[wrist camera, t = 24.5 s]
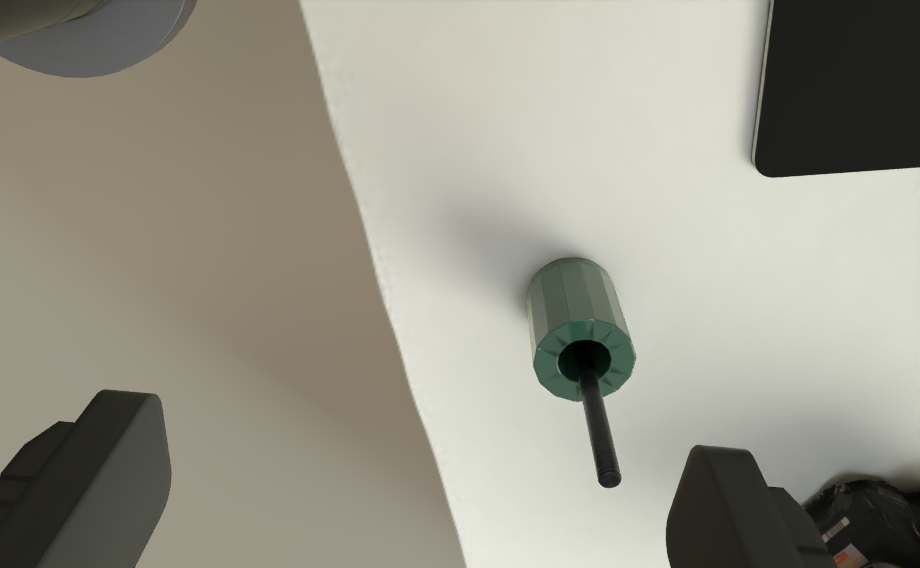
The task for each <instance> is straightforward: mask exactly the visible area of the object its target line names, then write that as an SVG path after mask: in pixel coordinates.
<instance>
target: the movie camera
mask: <svg viewBox="0 0 920 568" xmlns="http://www.w3.org/2000/svg"><path fill="white" fill-rule="evenodd" d="M838 489H839V490H840V491H841V492H842V493H843V494H852V496H853V500H852V501H853V502H852V503H851V505H850V506H849V507H848V508H846V509H842V511H840V512H837V511H835V510H834V508H833V502H834V499H835V493H836V491H837V490H838ZM897 489H898V488H896V487H894V486H891V485H889V484H887V483H886V482H883V481H872V480H858V481H854V482H850V483H844V484H843V485H840V486H838V485H837V486H836V485H833V487H831V488H828V489H826V490H825V491H824V492H823V495H820V497H819V498H818V499H816V500H813V502H812V503H811V504H810V505H809V506H808V507H807V509H805V511H806V512H807V513H808V514H809V515H810V516H811V517H812V519H813V521H814V523H815V525H816V527H817V528H818V530H819V532H820V534H821V536H822V538H823V540H824V542H825V544H826V546H827V548H828V555H832V557H833V559H834V561H835V563H836V565H837V567H838V568H920V491H919V492H915V493H912V494H910V493H909V494H905V493H903V492H901V491H899V490H897Z"/></svg>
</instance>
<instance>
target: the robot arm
mask: <svg viewBox="0 0 920 568" xmlns="http://www.w3.org/2000/svg"><path fill="white" fill-rule="evenodd" d="M110 1H111V0H0V42H2V41H5V40H8V39H12V38H15V37H18V36H21V35H24V34H27V33H30V32H33V31H36V30H39V29H43V28H46V27H49V26H52V25H55V24H58V23H64V22H70V21H74V20H78V19H81V18H84V17H87V16H89V15H92V14H94V13H96V12H97V11H99V10H101V9H102V8H104V7H105V6H106V5H107V4H108V3H109V2H110ZM170 486H171V464H170V457H169V450H168V443H167V436H166V430H165V423H164V416H163V409H162V403H161V400H160V398H159V397H158V395H156V394H151V393H140V392H129V391H118V390H102V391H100V392H99V393H97V394H96V396H95V397H94V398H93V399H92V401H91V402H90V403H89V405H88V406H87V407H86V409H85V410H84V411H83V413H82V414H81V415H80V416H79V418H78V419H77V420H76V422H75V423H74V422H63V421H58V422H57V423H56V424H54V425H53V426H51V427H50V428H48V429H47V430H45V431H44V432H42V433H41V434H40V435H38V436H36V437H35V438H33V439H32V440H31V441H29V442H28V443H26V444H25V445H24V446H23V447H22V448H21V449H20V450H19V452H18V453H17V454H16V455H15V457H14V458H13V459H12V460H11V461H10V463H9V464H8V465H7V466H6V468H5V469H4V470H3V471H2V472H1V476H0V568H135V566H136V564H137V562H138V560H139V558H140V556H141V554H142V552H143V550H144V549H145V547H146V545H147V543H148V541H149V539H150V537H151V535H152V533H153V531H154V529H155V527H156V525H157V523H158V521H159V519H160V517H161V515H162V513H163V511H164V508H165V506H166V503H167V500H168V495H169V491H170ZM666 547H667V554H668V559H669V562H670V566H671V568H838V567H837V565H836V563H835V561H834V559H833V557H832V555H828V548H827V546H826V544H825V542H824V540H823V538H822V536H821V534H820V532H819V530H818V528H817V527H816V525H815V523H814V521H813V519H812V517H811V516H810V515H809V514H808V513H807V512H806V511H805V510H804V509H803V508H802V507H801V506H800V505H799V504H798V503H797V502H796V501H795V500H794V499H793V497H792V496H791V495H790V494H789V493H788V492H787V491H786V490H785V489H784V488H778V487H768V486H767V484H766V482H765V480H764V478H763V476H762V474H761V472H760V469H759V467H758V465H757V463H756V461H755V459H754V457H753V455H752V454H751V453H750V452H749V451H748V450H746V449H737V448H726V447H715V446H704V445H696V446H694V447H693V448H692V449H691V451H690V453H689V456H688V459H687V462H686V465H685V468H684V470H683V473H682V476H681V479H680V482H679V485H678V488H677V491H676V494H675V497H674V500H673V503H672V506H671V509H670V512H669V515H668V519H667V526H666Z"/></svg>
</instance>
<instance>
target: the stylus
mask: <svg viewBox="0 0 920 568" xmlns="http://www.w3.org/2000/svg"><path fill="white" fill-rule="evenodd" d="M571 344H572V349H573V354H574V359H575V364H576V369H577V374H578V379H579V385H580V390H581V395H582V400H583V405H584V410H585V415H586V420H587V426H588V431H589V436H590V441H591V446H592V451H593V456H594V461H595V466H596V472H597V477H598V482H599V483H600V485H601V486H603V487H605V488H613V487H616V486H617V485H619V484H620V482H621V474H620V469H619V465H618V461H617V457H616V452H615V448H614V444H613V440H612V435H611V431H610V427H609V423H608V418H607V414H606V410H605V406H604V401H603V397H602V393H601V389H600V384H599V380H598V376H597V372H596V367H595V363H594V359H593V355H592V350H591V346H590V342H589V340H580V341H575V342H573V343H571Z"/></svg>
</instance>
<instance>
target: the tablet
mask: <svg viewBox="0 0 920 568" xmlns="http://www.w3.org/2000/svg"><path fill="white" fill-rule="evenodd" d="M752 162H753V165H754V167H755V168H756V169H757V170H758V171H759V173H761V174H762V175H764V176H766V177H772V178H775V177H789V176H803V175H817V174H831V173H846V172H860V171H874V170H888V169H902V168H916V167H920V0H771V4H770V13H769V21H768V29H767V37H766V45H765V53H764V61H763V69H762V78H761V86H760V94H759V102H758V110H757V118H756V126H755V134H754V143H753V151H752Z"/></svg>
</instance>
